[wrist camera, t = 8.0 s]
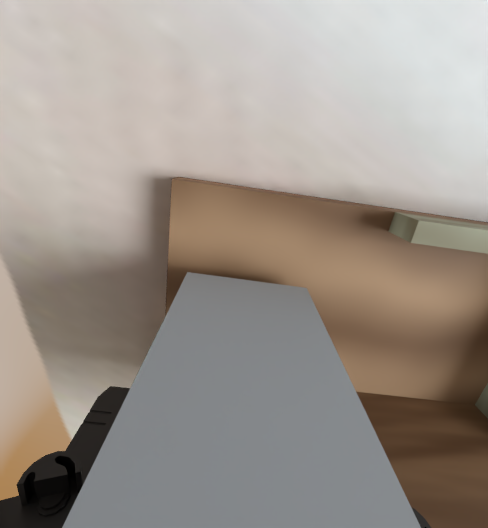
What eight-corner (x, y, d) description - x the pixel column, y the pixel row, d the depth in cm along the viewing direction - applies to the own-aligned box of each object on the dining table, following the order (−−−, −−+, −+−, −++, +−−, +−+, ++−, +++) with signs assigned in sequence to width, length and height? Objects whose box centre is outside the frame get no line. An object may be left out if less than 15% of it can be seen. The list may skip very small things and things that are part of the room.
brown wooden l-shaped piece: (178, 176, 14) (43, 218, 5) (568, 234, 16) (1113, 363, 6) (167, 371, 19) (88, 596, 9) (469, 405, 20) (680, 636, 10)
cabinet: (187, 272, 14) (-276, 1218, 1) (306, 287, 14) (727, 1171, 2) (178, 381, 16) (-19, 1064, 4) (280, 392, 16) (381, 1057, 4)
